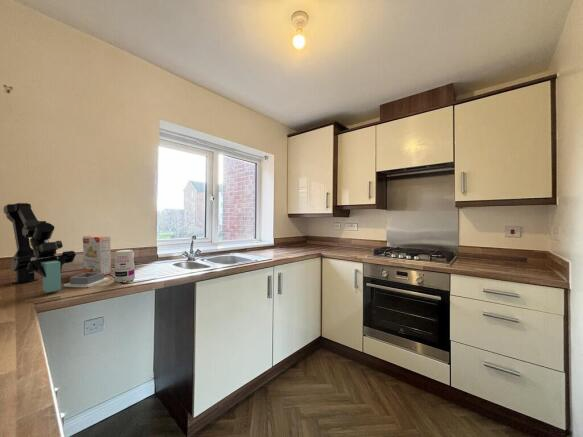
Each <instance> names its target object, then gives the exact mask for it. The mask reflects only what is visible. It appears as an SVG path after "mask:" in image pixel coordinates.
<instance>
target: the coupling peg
mask: <svg viewBox="0 0 583 437" xmlns="http://www.w3.org/2000/svg"><path fill="white" fill-rule="evenodd" d="M41 265H42V267H43V269H44V271H45V273H46V277H43V276H42V291H43V292H45V293H52V292H57V291H60V290H62V276H61V275H62V270H61V268H60V262H59V261H51V262H43V263H41Z"/></svg>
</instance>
